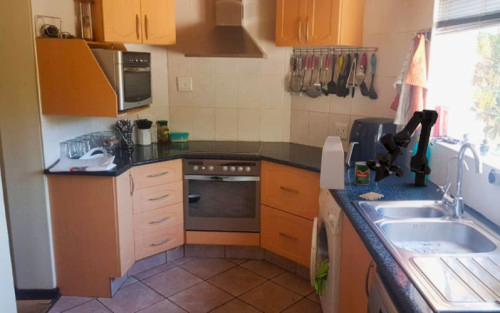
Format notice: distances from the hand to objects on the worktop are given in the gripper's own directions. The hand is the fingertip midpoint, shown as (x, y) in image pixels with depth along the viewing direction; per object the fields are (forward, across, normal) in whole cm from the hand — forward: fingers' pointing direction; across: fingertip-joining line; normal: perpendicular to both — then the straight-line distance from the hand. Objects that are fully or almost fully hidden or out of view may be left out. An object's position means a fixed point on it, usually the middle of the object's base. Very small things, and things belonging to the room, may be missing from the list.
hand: (375, 182), depth 212 cm
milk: (+7, -25, +3) cm, 26 cm away
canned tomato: (-5, -20, +15) cm, 25 cm away
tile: (+3, 0, +6) cm, 7 cm away
